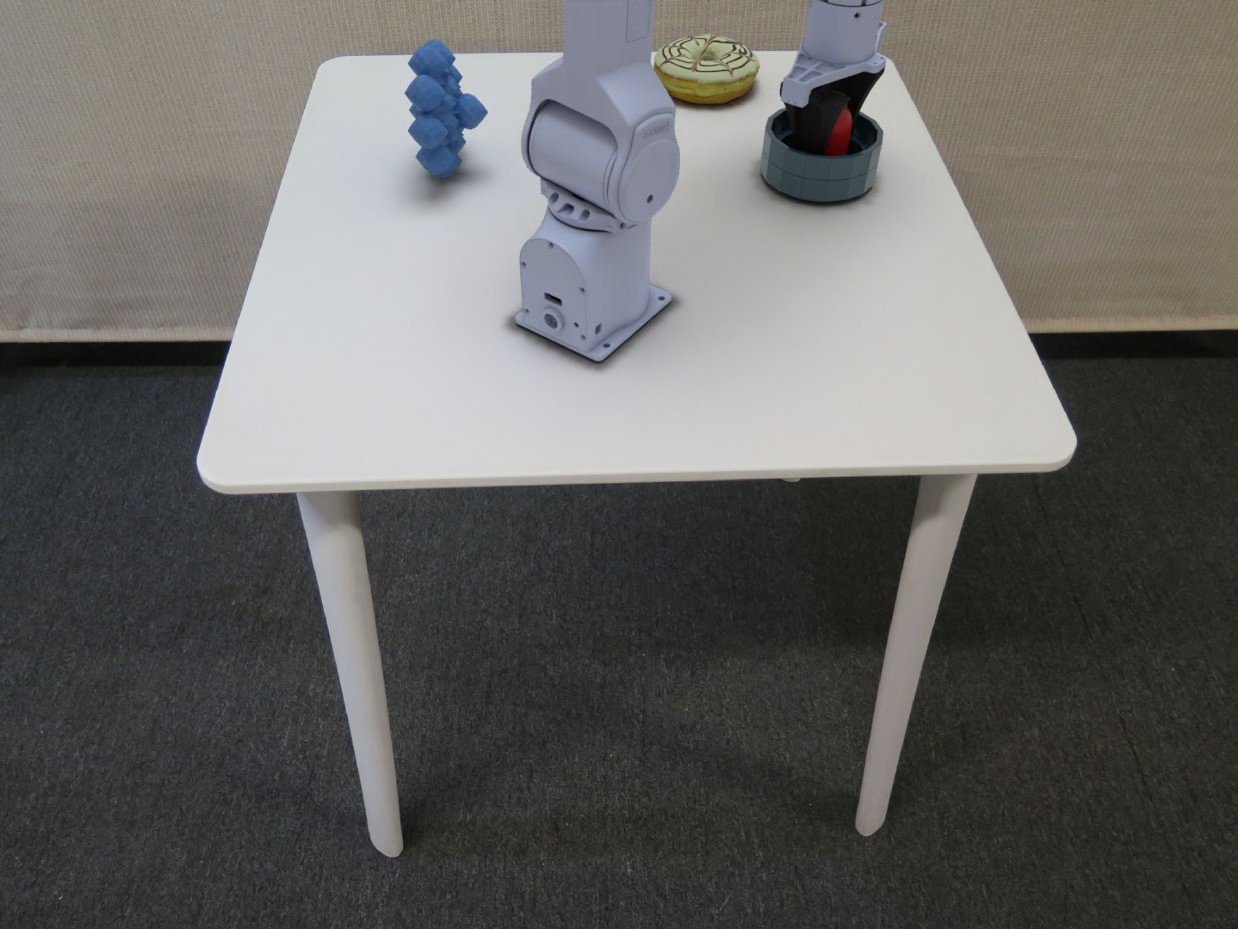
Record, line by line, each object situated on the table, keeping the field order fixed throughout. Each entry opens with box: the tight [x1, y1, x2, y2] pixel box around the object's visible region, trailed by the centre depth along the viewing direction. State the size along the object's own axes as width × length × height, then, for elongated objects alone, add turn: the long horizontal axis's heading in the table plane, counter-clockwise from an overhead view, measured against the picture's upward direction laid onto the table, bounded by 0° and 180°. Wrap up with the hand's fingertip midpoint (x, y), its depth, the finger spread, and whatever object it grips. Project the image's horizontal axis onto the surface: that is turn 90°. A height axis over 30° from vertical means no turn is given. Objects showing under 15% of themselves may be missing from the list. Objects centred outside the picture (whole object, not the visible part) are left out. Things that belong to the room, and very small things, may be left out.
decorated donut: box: [653, 33, 761, 105], centre depth 99 cm, size 10×11×4 cm
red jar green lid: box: [825, 90, 852, 156], centre depth 85 cm, size 4×4×6 cm
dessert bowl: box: [759, 107, 884, 203], centre depth 87 cm, size 10×10×4 cm
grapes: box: [404, 38, 489, 178], centre depth 84 cm, size 12×7×12 cm, turn 178°
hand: (820, 153), depth 87 cm, fingers closed on red jar green lid, 4 cm apart
